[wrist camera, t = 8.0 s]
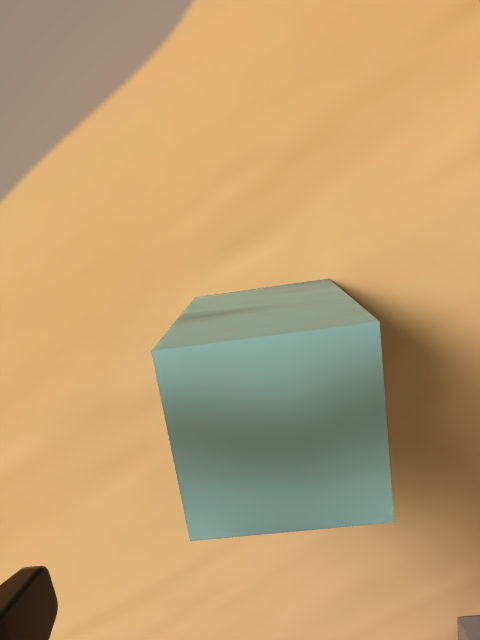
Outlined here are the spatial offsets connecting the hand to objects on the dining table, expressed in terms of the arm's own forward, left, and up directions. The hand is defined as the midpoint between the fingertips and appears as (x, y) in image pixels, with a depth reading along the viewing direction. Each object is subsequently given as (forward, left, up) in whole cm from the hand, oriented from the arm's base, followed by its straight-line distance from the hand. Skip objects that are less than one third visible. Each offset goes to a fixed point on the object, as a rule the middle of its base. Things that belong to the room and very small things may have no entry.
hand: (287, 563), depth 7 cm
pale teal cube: (0, 0, -12) cm, 12 cm away
